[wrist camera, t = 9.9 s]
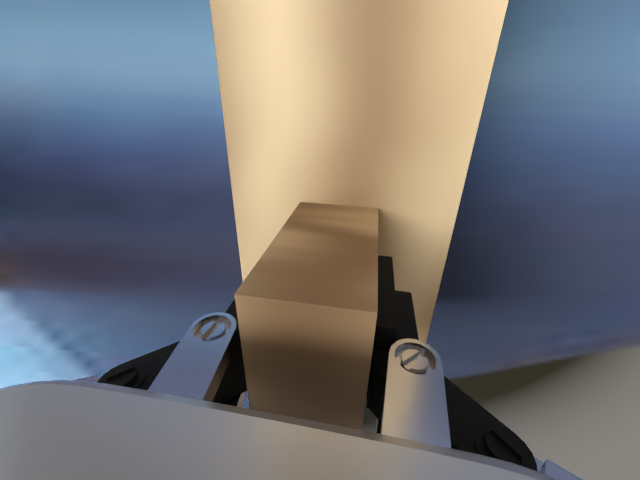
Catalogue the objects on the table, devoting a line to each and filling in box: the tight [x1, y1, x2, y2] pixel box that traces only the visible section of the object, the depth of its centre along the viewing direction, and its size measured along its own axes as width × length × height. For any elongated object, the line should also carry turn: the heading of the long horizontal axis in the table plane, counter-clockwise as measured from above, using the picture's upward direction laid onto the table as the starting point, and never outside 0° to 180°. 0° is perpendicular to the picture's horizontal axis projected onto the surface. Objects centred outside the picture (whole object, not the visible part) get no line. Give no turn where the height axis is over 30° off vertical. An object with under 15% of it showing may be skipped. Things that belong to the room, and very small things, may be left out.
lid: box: [210, 0, 509, 430], centre depth 9 cm, size 9×19×7 cm, turn 179°
